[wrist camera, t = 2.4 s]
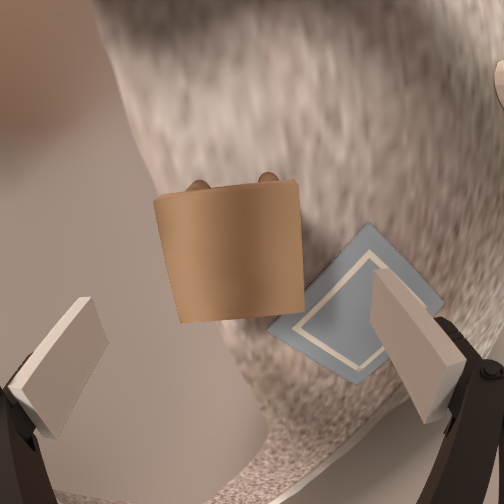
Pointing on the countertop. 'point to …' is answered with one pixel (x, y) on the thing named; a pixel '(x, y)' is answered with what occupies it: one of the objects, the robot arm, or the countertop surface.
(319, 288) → the mat
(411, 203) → the countertop surface
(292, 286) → the stool
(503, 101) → the white cup
